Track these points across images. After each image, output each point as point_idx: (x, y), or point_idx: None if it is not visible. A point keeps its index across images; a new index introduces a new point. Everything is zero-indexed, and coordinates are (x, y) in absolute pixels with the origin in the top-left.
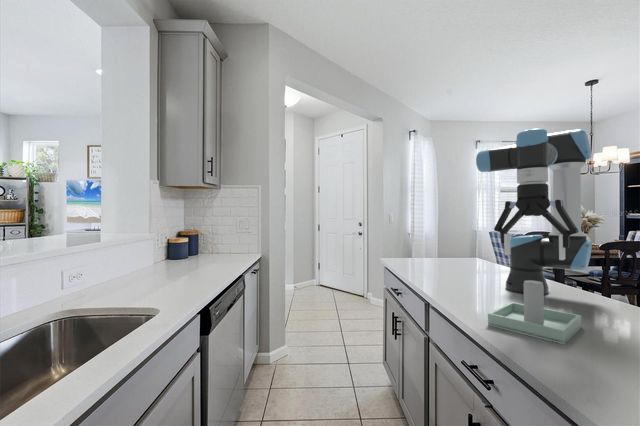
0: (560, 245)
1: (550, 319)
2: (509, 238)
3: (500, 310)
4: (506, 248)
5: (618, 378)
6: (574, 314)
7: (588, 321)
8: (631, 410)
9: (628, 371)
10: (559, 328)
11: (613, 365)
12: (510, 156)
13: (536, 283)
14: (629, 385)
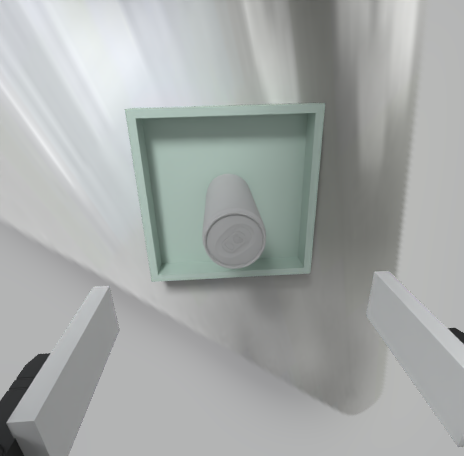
0: (418, 379)
1: (246, 121)
2: (64, 388)
3: (151, 222)
4: (102, 363)
5: None
6: (309, 109)
7: (322, 10)
8: (381, 384)
9: None
10: (281, 186)
11: None
12: None
13: (249, 253)
14: None
